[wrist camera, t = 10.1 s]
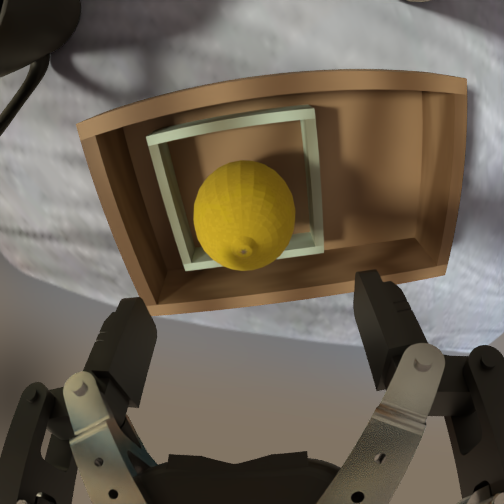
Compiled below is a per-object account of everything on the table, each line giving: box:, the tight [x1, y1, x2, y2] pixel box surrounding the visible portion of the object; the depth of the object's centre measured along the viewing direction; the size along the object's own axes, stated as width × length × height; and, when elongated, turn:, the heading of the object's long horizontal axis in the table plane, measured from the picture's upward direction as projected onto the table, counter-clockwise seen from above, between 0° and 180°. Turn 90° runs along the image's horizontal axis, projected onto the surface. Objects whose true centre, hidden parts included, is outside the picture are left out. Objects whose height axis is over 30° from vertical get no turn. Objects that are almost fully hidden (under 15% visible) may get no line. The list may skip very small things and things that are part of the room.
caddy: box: [76, 69, 467, 316], centre depth 19 cm, size 22×14×5 cm, turn 99°
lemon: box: [193, 160, 295, 271], centre depth 17 cm, size 6×6×8 cm
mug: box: [0, 0, 81, 136], centre depth 11 cm, size 8×12×10 cm
